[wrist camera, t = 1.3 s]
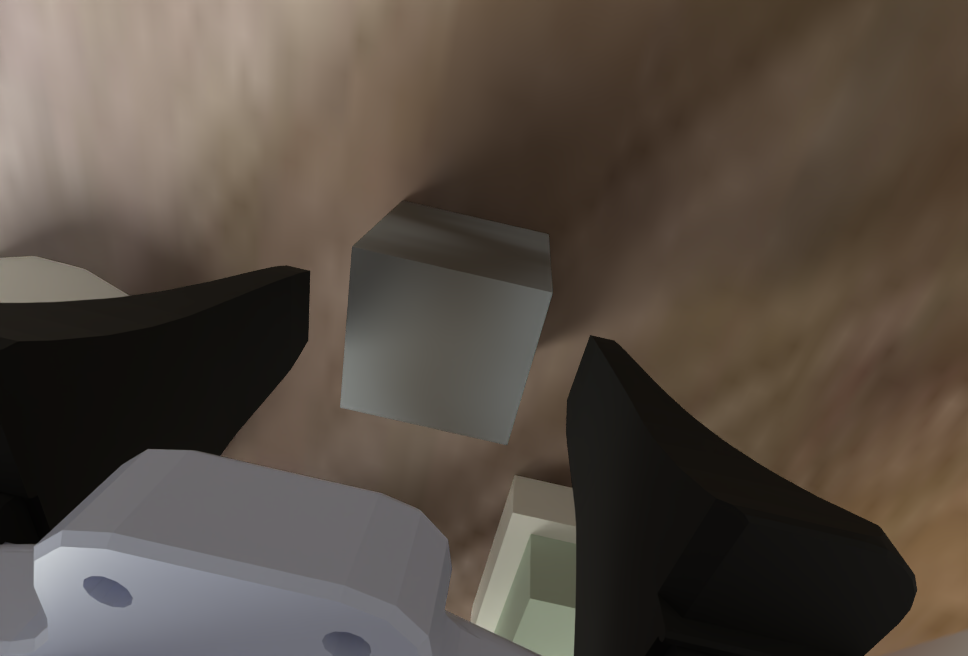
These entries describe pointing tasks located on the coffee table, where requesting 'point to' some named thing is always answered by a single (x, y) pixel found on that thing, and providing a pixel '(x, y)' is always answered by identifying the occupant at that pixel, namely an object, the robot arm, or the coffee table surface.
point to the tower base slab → (521, 540)
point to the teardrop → (49, 282)
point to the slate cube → (444, 320)
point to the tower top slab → (542, 599)
